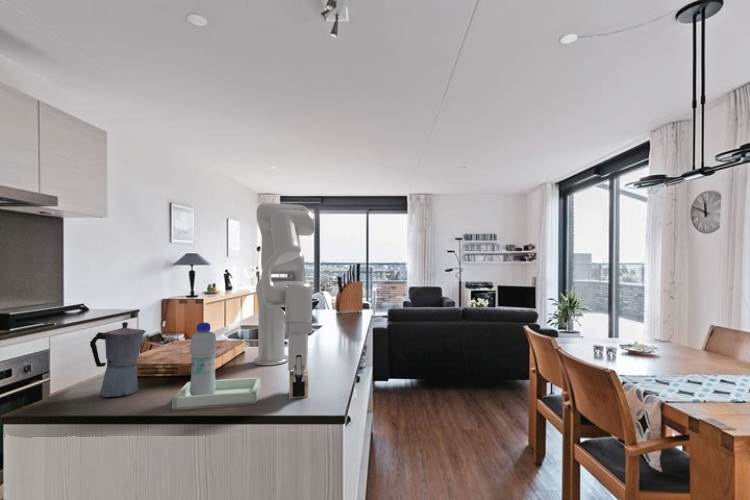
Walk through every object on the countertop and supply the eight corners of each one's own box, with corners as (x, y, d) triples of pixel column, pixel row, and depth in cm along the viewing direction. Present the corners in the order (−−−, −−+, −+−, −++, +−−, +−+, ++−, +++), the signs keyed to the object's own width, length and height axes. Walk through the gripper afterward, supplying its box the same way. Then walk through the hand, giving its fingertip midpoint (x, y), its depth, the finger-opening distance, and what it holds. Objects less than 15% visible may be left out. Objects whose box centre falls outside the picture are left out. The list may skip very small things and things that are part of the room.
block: (289, 392, 108) (289, 371, 109) (307, 391, 109) (307, 370, 110) (289, 398, 103) (289, 376, 104) (308, 397, 104) (308, 374, 105)
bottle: (206, 401, 100) (206, 324, 100) (183, 400, 101) (184, 324, 102) (221, 393, 106) (222, 320, 107) (200, 392, 107) (200, 320, 108)
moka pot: (155, 387, 114) (156, 319, 115) (103, 405, 100) (105, 327, 100) (131, 384, 117) (132, 318, 118) (78, 401, 103) (80, 326, 103)
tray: (187, 392, 109) (188, 381, 109) (260, 387, 113) (260, 377, 113) (172, 410, 95) (172, 398, 96) (255, 404, 99) (255, 392, 99)
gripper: (285, 323, 115) (285, 384, 114) (283, 332, 98) (283, 404, 97) (311, 322, 116) (311, 382, 116) (313, 331, 100) (313, 402, 99)
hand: (298, 392), depth 106 cm, fingers closed on block, 5 cm apart
